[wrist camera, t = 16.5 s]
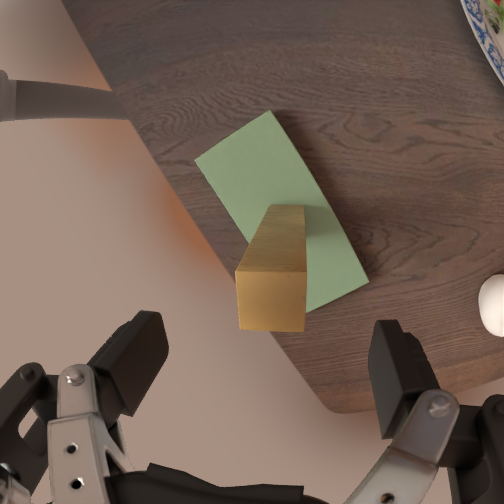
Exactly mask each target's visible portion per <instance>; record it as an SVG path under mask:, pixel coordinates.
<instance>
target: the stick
mask: <svg viewBox="0 0 504 504" xmlns="http://www.w3.org/2000/svg"><path fill="white" fill-rule="evenodd" d="M235 276H236V288H237V300H238V312H239V323H240V329H241V330H259V331H284V332H304V331H305V318H306V294H307V254H306V232H305V213H304V205H269V207H268V209H267V211H266V213H265V215H264V217H263V219H262V221H261V222H260V224H259V226H258V228H257V230H256V232H255V234H254V236H253V238H252V240H251V242H250V244H249V246H248V248H247V250H246V252H245V254H244V256H243V258H242V260H241V261H240V263H239V265H238V267H237V269H236V271H235Z"/></svg>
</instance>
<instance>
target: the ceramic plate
mask: <svg viewBox="0 0 504 504" xmlns="http://www.w3.org/2000/svg"><path fill="white" fill-rule="evenodd" d="M461 4H462V6H463V9H464V12H465V14H466V17H467V19H468V22H469V24H470V26H471V28H472V30H473V33H474V35H475V37H476V39H477V41H478V43H479V44H480V46H481V48H482V50H483V52H484V54H485V56H486V58H487V59H488V61H489V63H490V65H491V66H492V68H493V70H494V71H495V73H496V75H497V76H498V78H499V79H500V81H501V82H502V84H503V86H504V0H461Z"/></svg>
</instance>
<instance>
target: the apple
mask: <svg viewBox="0 0 504 504" xmlns="http://www.w3.org/2000/svg"><path fill="white" fill-rule="evenodd" d="M478 300H479V309H480V315H481V319H482V321H483V324H484V326H485V328H486V329H487V330H488V331H489V332H490V333H492V334H494V335H496V336H501V337H503V336H504V274H498V275H493V276H491V277H490V278H489V279H487V280H486V281H485V282H484V283H483V285H482V287H481V289H480V292H479V298H478Z"/></svg>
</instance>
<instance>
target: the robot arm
mask: <svg viewBox="0 0 504 504" xmlns="http://www.w3.org/2000/svg"><path fill="white" fill-rule="evenodd" d="M168 351H169V345H168V341H167V337H166V332H165V329H164V324H163V320H162V316H161V314H160V313H159V312H153V311H143V310H141V311H139V312H138V313H137V315H136V316H135V317H134V318H133V319H132V320H131V321H128V322H127V323H125V324H124V325H122V326H120V327H119V328H118V329H117V330H116V331H115V332H114V333H113V335H112V337H110V338H109V339H108V340H107V341H106V343H104V345H103V346H102V347H101V348H100V349H99V350H98V351H97V352H96V354H95V355H94V356H93V357H92V358H91V360H90V361H89V362H88V363H87V364H86V365H85V364H76V365H72V366H70V367H68V368H66V369H65V370H63V371H62V373H61V374H60V375H46V373H45V371H44V369H43V368H42V366H41V365H40V364H39V363H34V362H32V363H27V364H25V365H23V366H21V367H20V368H19V369H18V370H17V371H16V372H15V373H14V374H13V375H12V376H11V377H10V378H9V380H8V381H7V382H6V383H5V384H4V385H3V386H2V388H1V389H0V504H33V503H31V496H32V494H33V492H34V490H35V489H36V487H37V485H38V483H39V481H40V480H41V478H42V476H43V474H44V473H45V471H46V469H47V467H48V466H49V477H50V487H51V494H52V502H50V503H47V504H329V503H327V502H325V501H323V500H321V499H318V498H315V497H312V496H308V495H304V494H303V490H304V486H292V485H271V484H258V485H248V486H235V487H219V486H216V485H213V484H211V483H208V482H206V481H204V480H201V479H199V478H197V477H195V476H193V475H190V474H188V473H186V472H184V471H180V470H175V469H172V468H168V467H164V466H160V465H157V464H153V463H150V464H149V466H148V468H147V470H146V471H135V470H134V468H133V466H132V464H131V462H130V459H129V456H128V453H127V449H126V445H125V441H124V437H123V433H122V429H121V425H120V422H119V420H118V417H119V416H120V414H124V415H127V416H131V417H133V415H134V413H135V411H136V410H137V408H138V406H139V405H140V403H141V401H142V400H143V398H144V396H145V394H146V393H147V391H148V389H149V388H150V386H151V384H152V383H153V381H154V379H155V377H156V376H157V374H158V372H159V371H160V369H161V367H162V366H163V364H164V362H165V361H166V359H167V356H168ZM423 351H424V350H423V348H422V346H421V344H420V342H419V340H418V339H417V338H415V337H414V336H413V335H412V334H411V333H410V332H409V333H403V331H402V329H401V327H400V324H399V322H398V320H396V319H395V320H377V321H376V323H375V326H374V331H373V336H372V341H371V346H370V350H369V355H368V370H369V374H370V379H371V384H372V388H373V393H374V398H375V403H376V409H377V414H378V419H379V424H380V431H381V437H382V439H391V438H392V439H393V441H392V443H391V444H390V446H388V447H387V449H386V450H385V452H384V453H383V454H382V456H381V457H380V458H379V460H378V461H377V463H376V464H375V465H374V467H373V468H372V469H371V471H370V472H369V473H368V475H367V476H366V477H365V478H364V480H363V481H362V482H361V483H360V485H359V486H358V487H357V488H356V490H355V491H354V492H353V493H352V494H351V495H350V497H349V498H348V499H347V500H346V501H345V502H344V503H343V504H420V503H421V502H422V500H423V498H424V497H425V495H426V493H427V491H428V490H429V488H430V486H431V484H432V482H433V480H434V478H435V476H436V474H437V472H438V469H439V467H447V471H448V476H449V482H450V489H451V496H452V504H504V395H500V394H496V395H492V396H490V397H488V398H487V399H486V400H485V402H484V404H483V405H482V406H468V405H460V404H459V402H458V400H457V399H456V398H455V397H454V395H452V394H451V393H449V392H448V391H445V390H442V389H441V388H440V386H439V384H438V381H437V379H436V377H435V374H434V372H433V370H432V368H431V365H430V363H429V361H427V357H426V354H425V352H423ZM31 408H32V409H33V411H34V412H35V414H36V415H37V416H38V418H37V419H36V421H35V422H34V424H33V425H32V426H31V428H30V429H29V431H28V432H27V434H26V435H25V436H24V438H23V439H22V438H21V436H20V435H19V432H18V427H19V424H20V422H21V421H22V419H23V418H24V417H25V415H26V414H27V413H28V411H29V410H30V409H31Z"/></svg>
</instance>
